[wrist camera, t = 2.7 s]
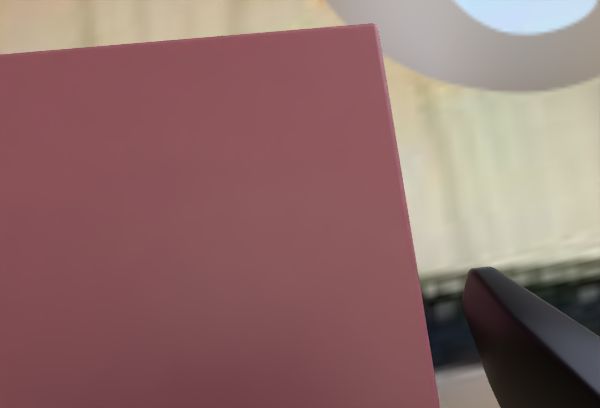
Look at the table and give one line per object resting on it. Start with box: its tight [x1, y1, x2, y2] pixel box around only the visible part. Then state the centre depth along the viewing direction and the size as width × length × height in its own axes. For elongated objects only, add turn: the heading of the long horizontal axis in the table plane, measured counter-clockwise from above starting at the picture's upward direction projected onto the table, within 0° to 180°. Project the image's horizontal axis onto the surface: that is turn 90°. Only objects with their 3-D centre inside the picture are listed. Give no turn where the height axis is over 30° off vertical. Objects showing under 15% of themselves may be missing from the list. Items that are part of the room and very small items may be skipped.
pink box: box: [0, 24, 440, 408], centre depth 12 cm, size 5×5×12 cm
